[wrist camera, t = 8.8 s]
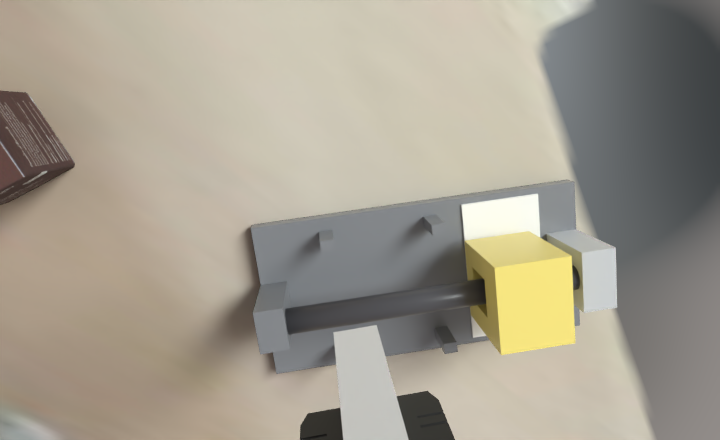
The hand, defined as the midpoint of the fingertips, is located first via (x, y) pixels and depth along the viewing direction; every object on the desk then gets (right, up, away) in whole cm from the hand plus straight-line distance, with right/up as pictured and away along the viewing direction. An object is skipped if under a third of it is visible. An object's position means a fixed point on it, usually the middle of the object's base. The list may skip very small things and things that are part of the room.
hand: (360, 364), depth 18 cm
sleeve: (+11, +1, +22) cm, 25 cm away
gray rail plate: (+5, +1, +24) cm, 25 cm away
